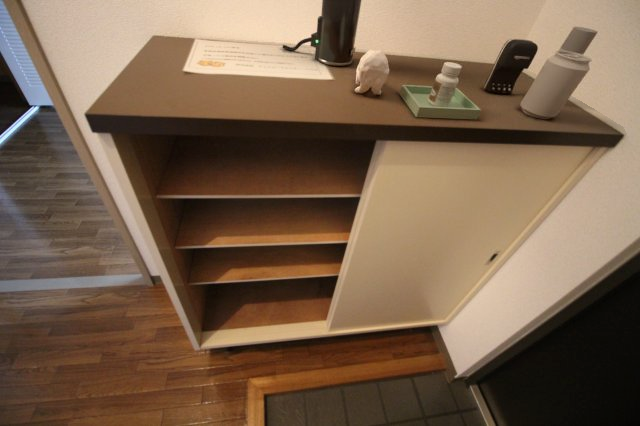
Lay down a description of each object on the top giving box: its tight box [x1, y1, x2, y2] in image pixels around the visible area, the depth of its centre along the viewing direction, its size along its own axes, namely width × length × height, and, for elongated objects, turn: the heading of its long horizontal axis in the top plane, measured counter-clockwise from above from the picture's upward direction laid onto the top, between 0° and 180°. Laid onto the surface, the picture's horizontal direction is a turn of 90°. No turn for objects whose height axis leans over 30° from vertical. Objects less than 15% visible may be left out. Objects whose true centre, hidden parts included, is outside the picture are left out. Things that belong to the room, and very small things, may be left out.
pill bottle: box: [428, 61, 463, 107], centre depth 58 cm, size 4×4×8 cm
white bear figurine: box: [354, 49, 390, 96], centre depth 62 cm, size 6×8×12 cm
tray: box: [399, 84, 482, 121], centre depth 60 cm, size 13×11×2 cm
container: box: [558, 26, 598, 55], centre depth 65 cm, size 5×5×15 cm
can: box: [520, 50, 593, 120], centre depth 60 cm, size 8×8×12 cm
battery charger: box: [483, 38, 539, 95], centre depth 67 cm, size 7×4×11 cm, turn 92°
